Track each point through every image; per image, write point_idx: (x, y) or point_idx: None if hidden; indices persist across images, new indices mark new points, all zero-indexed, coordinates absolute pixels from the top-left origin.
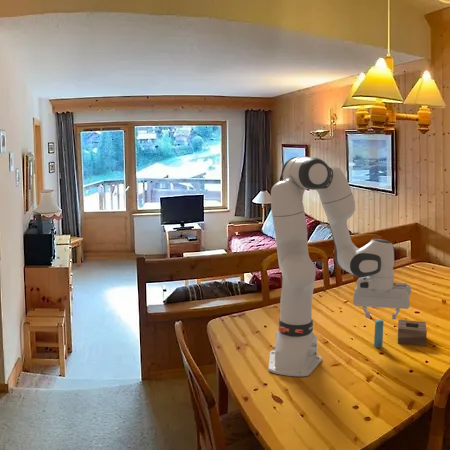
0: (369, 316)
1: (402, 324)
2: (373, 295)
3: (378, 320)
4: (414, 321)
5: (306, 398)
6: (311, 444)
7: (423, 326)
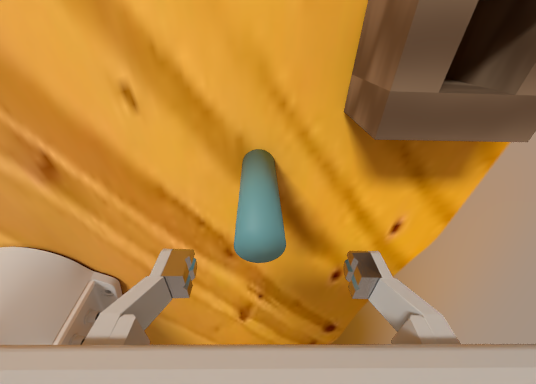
0: (193, 278)
1: (432, 48)
2: None
3: (255, 238)
4: None
5: None
6: None
7: None
